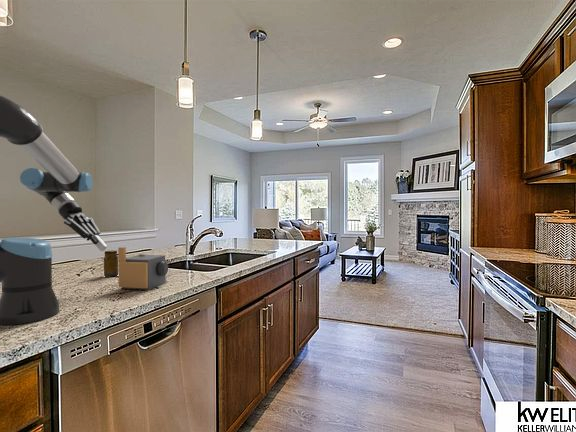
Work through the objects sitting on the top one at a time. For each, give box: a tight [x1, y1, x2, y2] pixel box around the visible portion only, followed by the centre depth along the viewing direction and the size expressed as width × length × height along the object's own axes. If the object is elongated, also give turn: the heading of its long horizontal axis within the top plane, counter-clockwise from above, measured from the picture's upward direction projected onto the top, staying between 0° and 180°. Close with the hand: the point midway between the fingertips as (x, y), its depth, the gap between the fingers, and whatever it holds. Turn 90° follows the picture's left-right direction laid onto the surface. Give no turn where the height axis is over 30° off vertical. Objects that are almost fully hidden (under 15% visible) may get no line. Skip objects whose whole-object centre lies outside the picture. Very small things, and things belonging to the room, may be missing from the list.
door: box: [117, 246, 148, 288], centre depth 126 cm, size 1×12×16 cm, turn 80°
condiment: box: [103, 250, 119, 278], centre depth 152 cm, size 7×8×12 cm
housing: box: [121, 253, 169, 291], centre depth 132 cm, size 12×14×13 cm
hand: (104, 248), depth 128 cm, fingers closed
